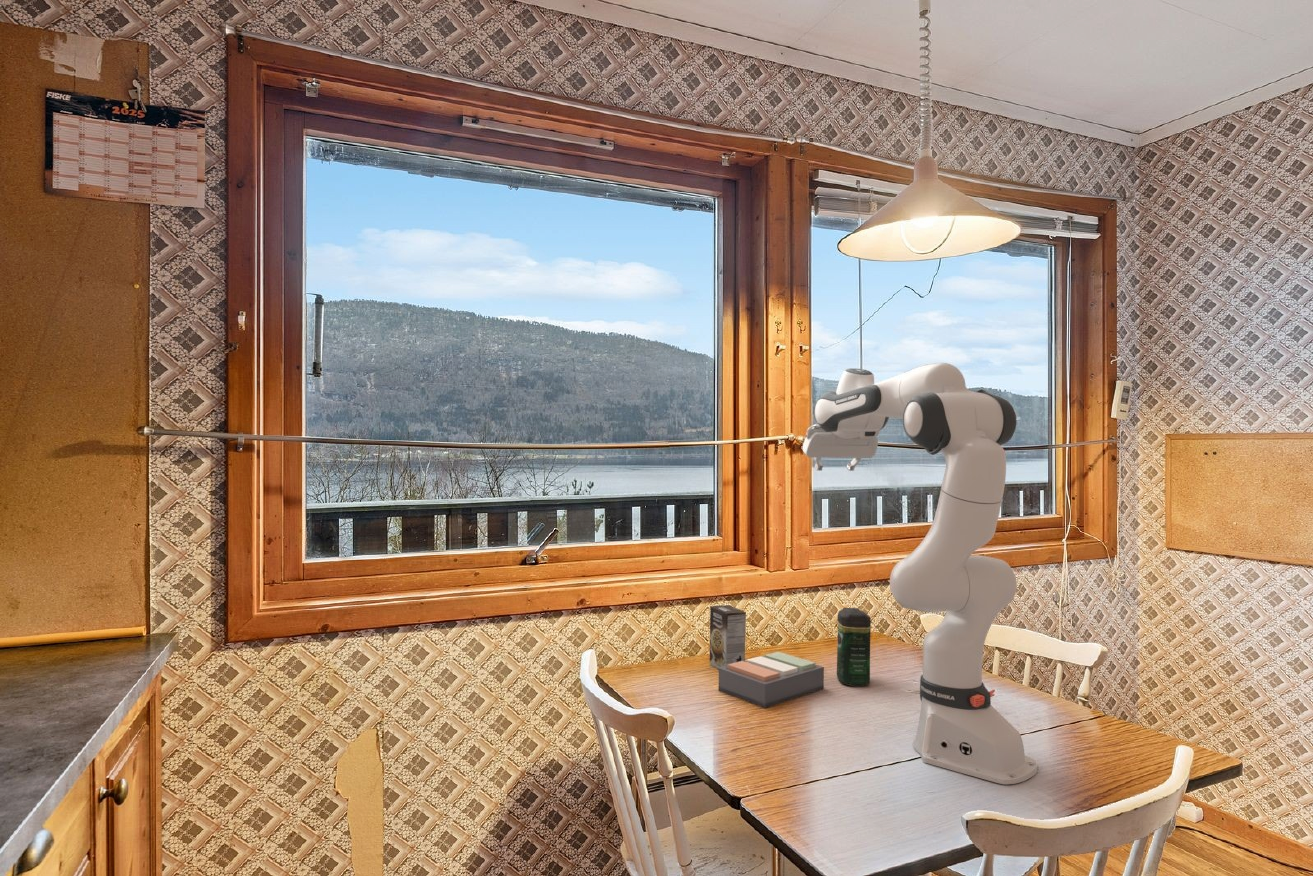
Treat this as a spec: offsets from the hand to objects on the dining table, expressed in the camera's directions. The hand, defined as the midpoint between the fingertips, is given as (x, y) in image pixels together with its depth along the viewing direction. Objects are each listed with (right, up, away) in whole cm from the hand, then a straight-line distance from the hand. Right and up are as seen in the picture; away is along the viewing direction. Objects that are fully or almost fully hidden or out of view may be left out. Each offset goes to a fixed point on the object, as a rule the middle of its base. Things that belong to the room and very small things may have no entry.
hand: (834, 469), depth 202 cm
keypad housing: (-21, -54, -20) cm, 61 cm away
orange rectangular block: (-26, -50, -25) cm, 62 cm away
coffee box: (-30, -54, -3) cm, 62 cm away
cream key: (-20, -50, -20) cm, 58 cm away
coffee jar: (+2, -55, -13) cm, 56 cm away
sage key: (-15, -51, -16) cm, 55 cm away
